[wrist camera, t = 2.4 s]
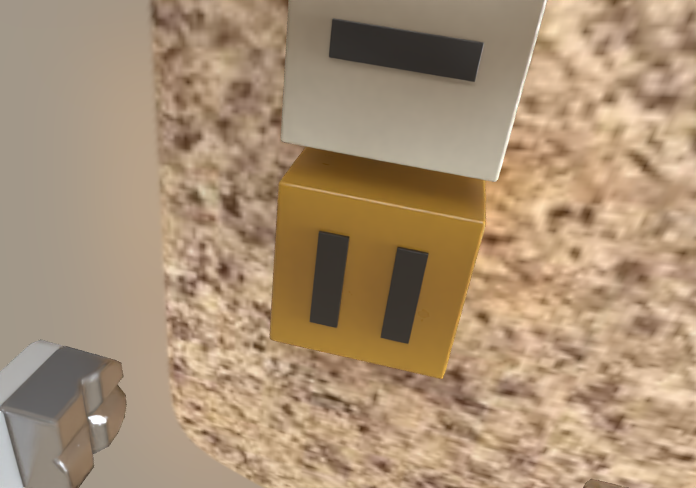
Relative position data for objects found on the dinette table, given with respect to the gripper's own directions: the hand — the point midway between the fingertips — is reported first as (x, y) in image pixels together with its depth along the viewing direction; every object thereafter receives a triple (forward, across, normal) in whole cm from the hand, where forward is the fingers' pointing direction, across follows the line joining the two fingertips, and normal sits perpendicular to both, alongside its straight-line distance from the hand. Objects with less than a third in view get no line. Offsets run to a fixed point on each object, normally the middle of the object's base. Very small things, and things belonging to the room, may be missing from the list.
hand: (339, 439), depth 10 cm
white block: (+9, 0, -6) cm, 10 cm away
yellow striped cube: (+9, 0, 0) cm, 9 cm away
